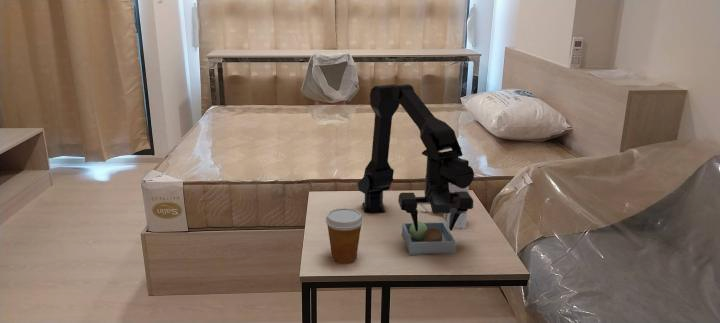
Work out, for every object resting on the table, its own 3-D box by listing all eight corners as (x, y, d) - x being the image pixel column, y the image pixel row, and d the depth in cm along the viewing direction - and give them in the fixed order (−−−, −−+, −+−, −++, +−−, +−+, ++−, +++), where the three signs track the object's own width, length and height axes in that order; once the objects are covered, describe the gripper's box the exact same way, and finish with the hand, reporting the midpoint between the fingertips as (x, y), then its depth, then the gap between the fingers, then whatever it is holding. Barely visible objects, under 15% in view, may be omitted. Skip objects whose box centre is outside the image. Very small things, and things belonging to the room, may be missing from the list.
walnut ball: (421, 241, 145) (422, 224, 144) (439, 240, 146) (440, 224, 144) (425, 250, 140) (426, 233, 139) (443, 249, 141) (445, 232, 139)
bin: (401, 234, 150) (402, 222, 149) (443, 233, 151) (444, 221, 150) (409, 255, 139) (410, 243, 138) (454, 253, 140) (455, 241, 139)
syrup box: (466, 228, 154) (470, 182, 149) (445, 226, 155) (448, 180, 150) (466, 220, 159) (470, 175, 154) (446, 218, 160) (449, 173, 156)
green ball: (408, 235, 149) (407, 219, 147) (425, 234, 149) (425, 217, 147) (411, 244, 144) (411, 227, 142) (429, 242, 144) (429, 225, 143)
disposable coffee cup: (335, 270, 131) (335, 226, 127) (319, 253, 139) (319, 211, 135) (369, 261, 135) (370, 218, 131) (352, 245, 143) (352, 204, 139)
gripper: (406, 187, 128) (403, 245, 133) (482, 186, 130) (476, 243, 135) (399, 171, 139) (396, 226, 144) (469, 170, 140) (464, 224, 145)
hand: (433, 230), depth 142 cm, fingers open, 9 cm apart
